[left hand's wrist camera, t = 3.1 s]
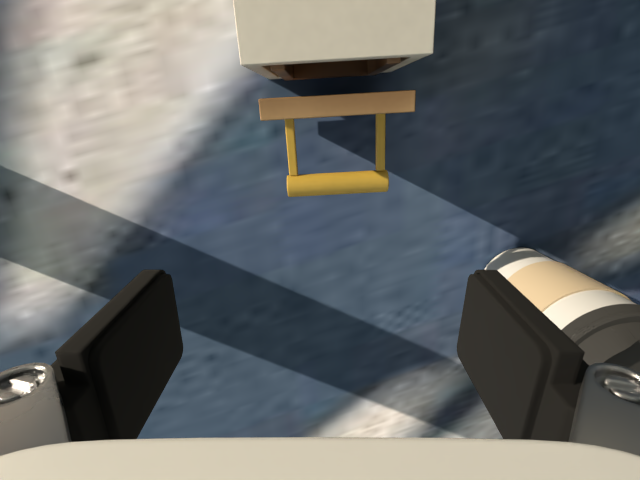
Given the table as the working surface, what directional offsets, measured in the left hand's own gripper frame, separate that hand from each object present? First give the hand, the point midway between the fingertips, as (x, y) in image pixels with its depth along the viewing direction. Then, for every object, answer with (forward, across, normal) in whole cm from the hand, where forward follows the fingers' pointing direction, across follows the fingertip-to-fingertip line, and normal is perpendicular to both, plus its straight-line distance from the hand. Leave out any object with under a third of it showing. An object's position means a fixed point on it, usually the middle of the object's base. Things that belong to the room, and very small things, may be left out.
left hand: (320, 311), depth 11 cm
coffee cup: (+23, +20, -11) cm, 32 cm away
